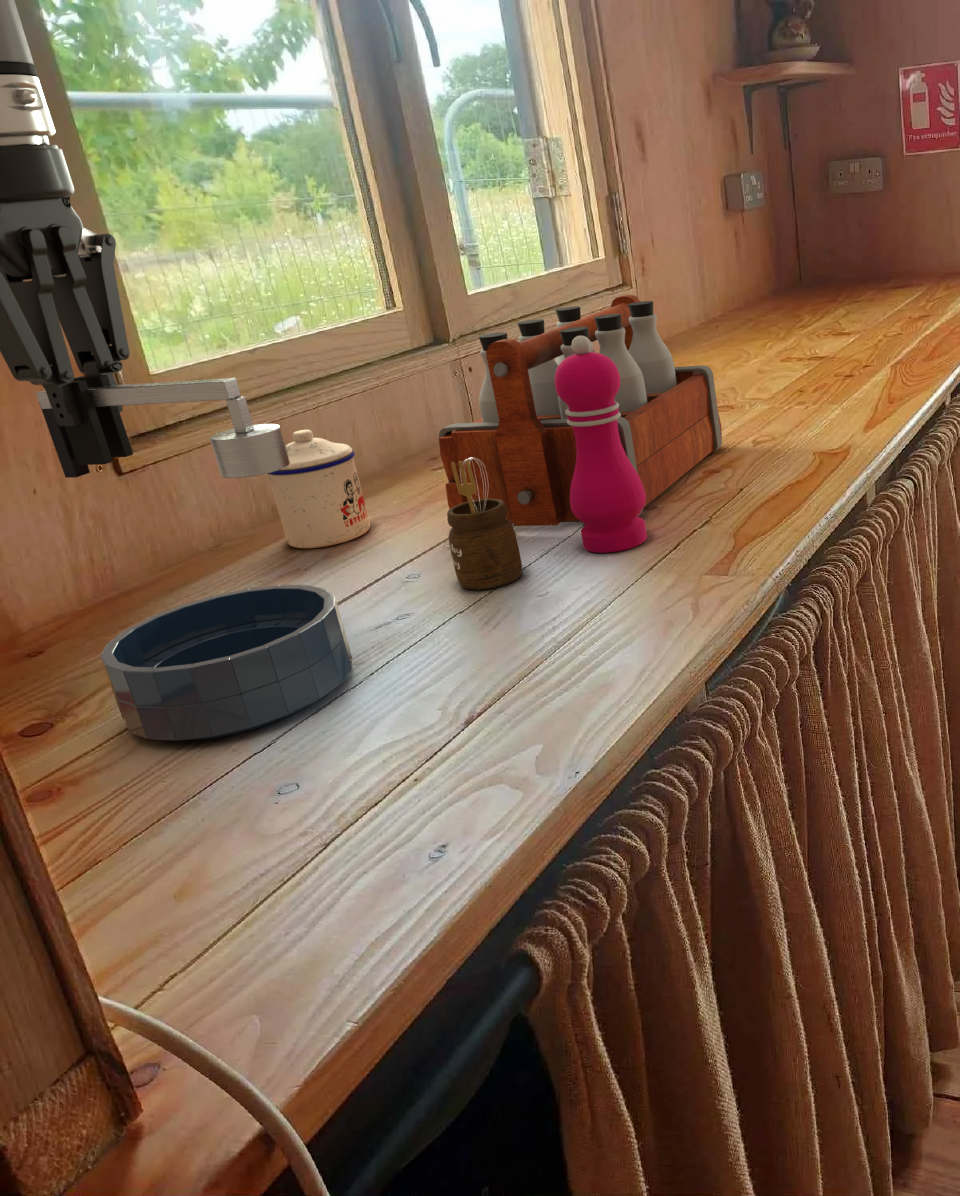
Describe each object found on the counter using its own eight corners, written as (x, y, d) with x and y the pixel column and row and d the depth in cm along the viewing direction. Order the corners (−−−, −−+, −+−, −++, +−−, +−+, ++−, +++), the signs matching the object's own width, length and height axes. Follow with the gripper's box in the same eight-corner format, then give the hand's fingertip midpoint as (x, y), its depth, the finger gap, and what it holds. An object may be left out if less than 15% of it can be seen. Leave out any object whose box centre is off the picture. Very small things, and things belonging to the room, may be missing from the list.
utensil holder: (525, 564, 106) (500, 440, 102) (521, 586, 101) (494, 456, 96) (462, 573, 106) (433, 449, 101) (454, 596, 100) (424, 466, 96)
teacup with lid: (367, 541, 119) (339, 433, 115) (277, 555, 117) (245, 447, 113) (381, 510, 130) (356, 411, 126) (299, 523, 128) (271, 423, 124)
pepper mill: (630, 556, 105) (594, 341, 98) (564, 554, 108) (524, 344, 101) (664, 530, 112) (633, 327, 104) (601, 529, 114) (566, 330, 107)
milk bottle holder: (439, 535, 118) (396, 350, 111) (581, 447, 149) (555, 298, 142) (623, 533, 112) (591, 338, 105) (731, 442, 143) (712, 286, 136)
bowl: (77, 745, 79) (48, 668, 77) (234, 651, 93) (213, 584, 91) (259, 756, 75) (233, 675, 73) (395, 655, 89) (377, 585, 86)
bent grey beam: (303, 459, 89) (279, 371, 86) (261, 477, 84) (234, 385, 82) (96, 467, 94) (68, 384, 92) (46, 484, 90) (15, 397, 87)
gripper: (-53, 142, 74) (68, 485, 83) (119, 138, 87) (208, 435, 96) (-137, 154, 76) (-10, 487, 85) (43, 148, 89) (137, 438, 98)
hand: (105, 459), depth 90 cm, fingers closed on bent grey beam, 1 cm apart
